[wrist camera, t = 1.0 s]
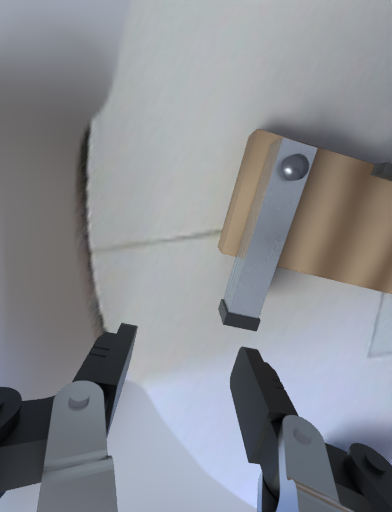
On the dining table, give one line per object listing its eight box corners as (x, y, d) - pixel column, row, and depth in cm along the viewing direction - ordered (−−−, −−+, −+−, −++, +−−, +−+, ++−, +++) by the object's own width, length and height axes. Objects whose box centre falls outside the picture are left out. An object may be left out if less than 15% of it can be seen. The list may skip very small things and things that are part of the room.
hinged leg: (268, 143, 23) (285, 134, 19) (302, 154, 23) (325, 146, 19) (218, 309, 26) (224, 328, 23) (248, 315, 27) (258, 335, 23)
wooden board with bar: (448, 195, 28) (496, 196, 24) (401, 291, 31) (437, 307, 26) (249, 135, 25) (263, 124, 21) (217, 246, 28) (224, 257, 24)
